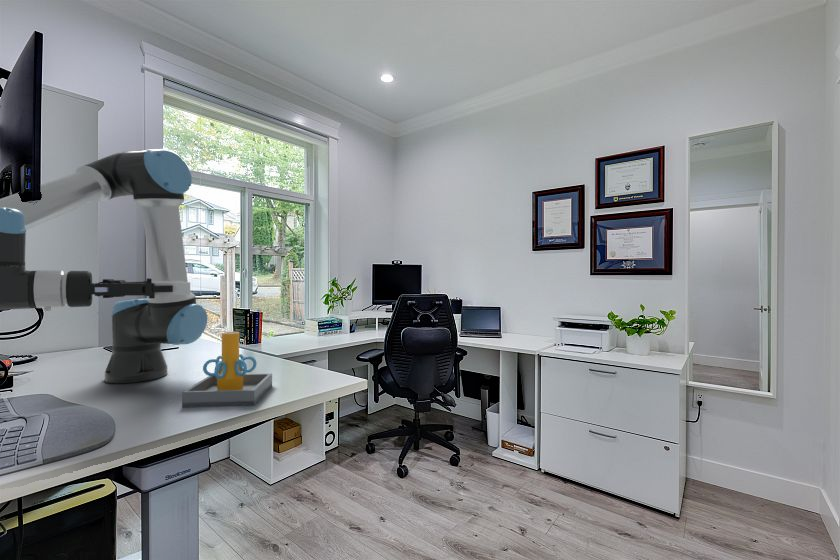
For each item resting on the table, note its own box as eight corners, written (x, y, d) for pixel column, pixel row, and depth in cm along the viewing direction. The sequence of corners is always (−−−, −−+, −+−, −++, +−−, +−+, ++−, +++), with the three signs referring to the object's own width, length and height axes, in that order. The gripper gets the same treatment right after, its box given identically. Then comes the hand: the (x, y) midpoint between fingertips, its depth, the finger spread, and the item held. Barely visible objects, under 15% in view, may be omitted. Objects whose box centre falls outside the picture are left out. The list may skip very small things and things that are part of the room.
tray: (211, 387, 105) (211, 374, 105) (272, 386, 107) (272, 373, 107) (182, 407, 90) (182, 392, 90) (254, 405, 91) (254, 390, 91)
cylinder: (254, 383, 106) (254, 328, 106) (258, 393, 97) (258, 334, 97) (203, 388, 100) (203, 331, 100) (202, 400, 91) (202, 337, 91)
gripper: (73, 303, 90) (181, 299, 102) (57, 312, 70) (193, 307, 82) (73, 270, 89) (181, 271, 102) (57, 270, 69) (193, 271, 82)
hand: (186, 287), depth 92 cm, fingers open, 13 cm apart
